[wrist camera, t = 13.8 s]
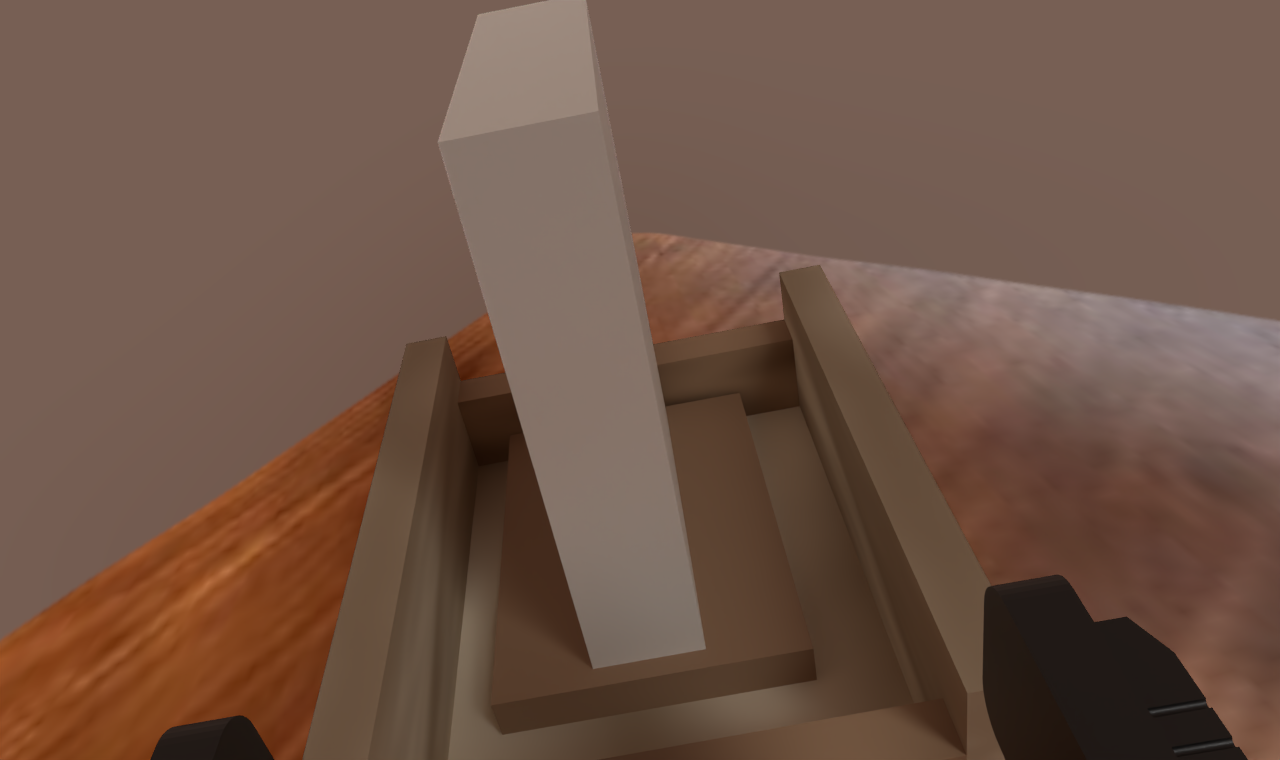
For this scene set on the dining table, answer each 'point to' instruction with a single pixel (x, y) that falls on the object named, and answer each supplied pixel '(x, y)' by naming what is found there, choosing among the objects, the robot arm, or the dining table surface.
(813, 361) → the brown wooden tray
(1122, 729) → the robot arm
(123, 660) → the dining table surface
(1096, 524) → the dining table surface
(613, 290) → the place card sign
